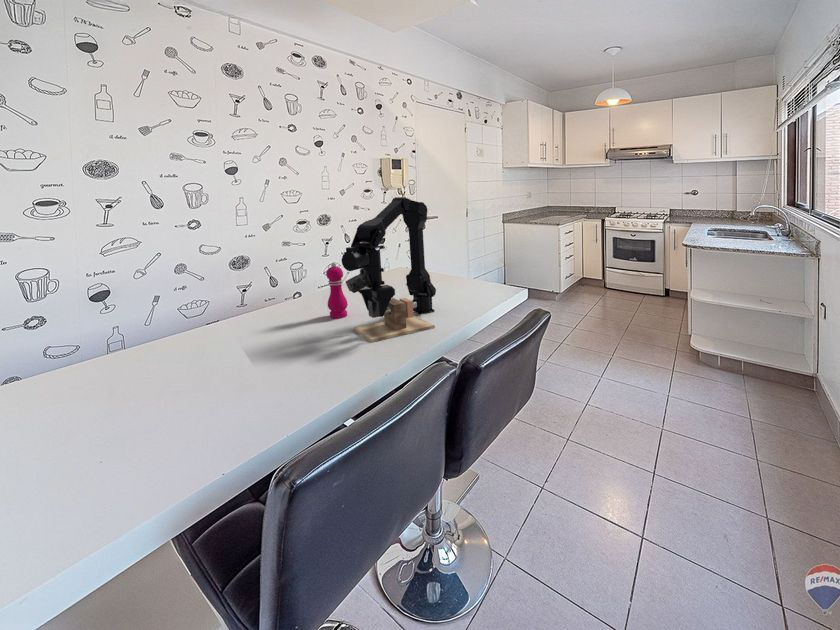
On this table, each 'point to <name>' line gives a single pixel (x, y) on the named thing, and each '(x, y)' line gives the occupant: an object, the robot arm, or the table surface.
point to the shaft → (374, 308)
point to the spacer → (408, 307)
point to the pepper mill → (336, 292)
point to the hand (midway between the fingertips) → (375, 313)
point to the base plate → (384, 332)
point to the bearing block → (396, 315)
